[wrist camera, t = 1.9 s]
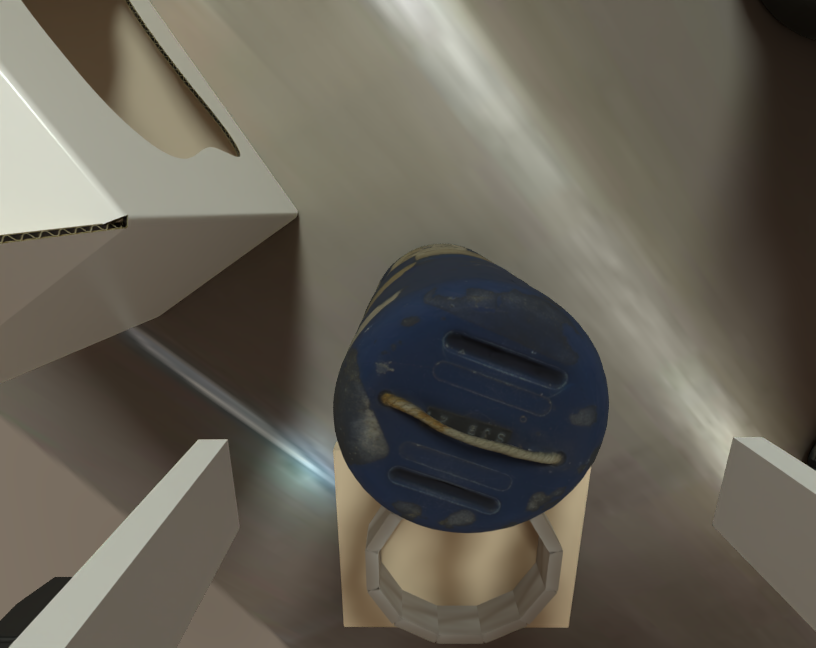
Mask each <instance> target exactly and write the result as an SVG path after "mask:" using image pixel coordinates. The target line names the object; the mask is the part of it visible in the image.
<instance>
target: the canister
mask: <svg viewBox="0 0 816 648" xmlns="http://www.w3.org/2000/svg"><path fill="white" fill-rule="evenodd" d="M608 410H609V397H608V387H607V381H606V376H605V373H604V370H603V366H602V363H601V360H600V357H599V355H598V352H597V350H596V348H595V347H594V345H593V343H592V341H591V340H590V338H589V337H588V335H587V334H586V333H585V331H584V330H583V329H582V327H581V326H580V325H579V323H578V322H577V321H576V320H575V319H574V318H573V317H572V316H571V315H570V314H569V313H568V312H567V311H565V310H564V309H563V308H562V307H561V306H559V305H558V304H557V303H556V302H554V301H553V300H552V299H550V298H549V297H547V296H546V295H544V294H543V293H541V292H539V291H538V290H536V289H534V288H532V287H531V286H529V285H528V284H527V283H525V282H524V281H522V280H520V279H518V278H517V277H515V276H514V275H512V274H511V273H509V272H508V271H506V270H505V269H503V268H501V267H499V266H497V265H496V264H494V263H492V262H491V261H489V260H488V259H486V258H484V257H483V256H481V255H479V254H478V253H476V252H474V251H472V250H470V249H467V248H465V247H462V246H458V245H452V244H432V245H427V246H422V247H420V248H417V249H415V250H412V251H410V252H409V253H407V254H405V255H404V256H402V257H401V258H400V259H398V260H397V261H396V262H395V263H394V264H393V265H392V266H391V267H390V268H389V269H388V270H387V272H386V273H385V274H384V276H383V278H382V279H381V281H380V283H379V285H378V287H377V289H376V292H375V294H374V295H373V297H372V299H371V301H370V303H369V305H368V307H367V309H366V312H365V314H364V317H363V320H362V322H361V324H360V326H359V328H358V330H357V333H356V335H355V337H354V338H353V340H352V343H351V345H350V347H349V349H348V351H347V354H346V356H345V359H344V361H343V363H342V366H341V369H340V372H339V375H338V378H337V382H336V387H335V393H334V401H333V414H334V426H335V432H336V436H337V440H338V444H339V447H340V450H341V453H342V455H343V458H344V460H345V462H346V464H347V466H348V468H349V469H350V471H351V472H352V474H353V475H354V477H355V478H356V480H357V481H358V482H359V483H360V485H361V486H362V488H363V489H364V490H365V491H366V492H367V493H368V494H369V495H370V496H372V497H373V498H374V499H375V500H376V501H377V502H378V503H379V504H381V505H382V506H383V507H384V508H386V509H387V510H389V511H391V512H393V513H394V514H396V515H398V516H400V517H402V518H404V519H406V520H408V521H410V522H413V523H415V524H417V525H420V526H423V527H427V528H430V529H434V530H440V531H446V532H453V533H482V532H490V531H495V530H500V529H505V528H509V527H513V526H515V525H518V524H520V523H523V522H526V521H528V520H530V519H532V518H534V517H536V516H538V515H540V514H542V513H544V512H545V511H547V510H549V509H551V508H553V507H554V506H555V505H557V504H558V503H559V502H560V501H561V500H563V498H564V497H566V496H567V495H568V494H569V493H570V492H571V491H572V490H573V489H574V488H575V487H576V486H577V485H578V484H579V482H580V481H581V480H582V479H583V477H584V476H585V474H586V473H587V471H588V470H589V468H590V467H591V465H592V464H593V462H594V460H595V458H596V456H597V454H598V451H599V449H600V447H601V444H602V441H603V437H604V434H605V431H606V427H607V420H608Z"/></svg>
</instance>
